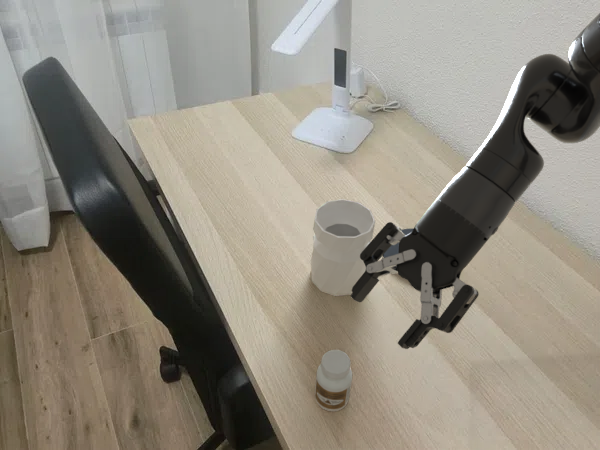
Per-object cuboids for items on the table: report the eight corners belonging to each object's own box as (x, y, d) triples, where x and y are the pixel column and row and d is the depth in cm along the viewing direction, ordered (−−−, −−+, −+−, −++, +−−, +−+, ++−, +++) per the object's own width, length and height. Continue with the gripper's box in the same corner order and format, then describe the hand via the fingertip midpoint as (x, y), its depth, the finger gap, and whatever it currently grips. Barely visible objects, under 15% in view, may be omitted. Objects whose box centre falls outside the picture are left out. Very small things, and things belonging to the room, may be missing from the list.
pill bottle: (311, 408, 69) (313, 372, 64) (318, 378, 72) (321, 342, 67) (345, 416, 68) (351, 381, 63) (351, 386, 72) (357, 350, 66)
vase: (299, 269, 87) (301, 211, 79) (343, 249, 91) (350, 192, 83) (331, 305, 82) (337, 246, 74) (377, 282, 86) (387, 224, 78)
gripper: (408, 174, 65) (325, 280, 68) (505, 242, 57) (406, 361, 59) (431, 194, 71) (355, 291, 74) (522, 259, 63) (432, 366, 65)
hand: (378, 322), depth 66 cm, fingers open, 8 cm apart
